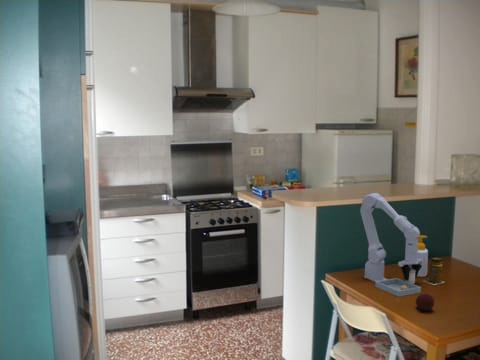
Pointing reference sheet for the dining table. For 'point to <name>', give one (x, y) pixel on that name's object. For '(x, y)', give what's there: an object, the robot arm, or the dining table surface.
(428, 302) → the dark purple sphere
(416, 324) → the dining table surface
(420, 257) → the soap bottle
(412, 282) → the shaker
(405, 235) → the robot arm
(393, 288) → the tray
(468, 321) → the dining table surface
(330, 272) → the dining table surface
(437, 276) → the condiment
